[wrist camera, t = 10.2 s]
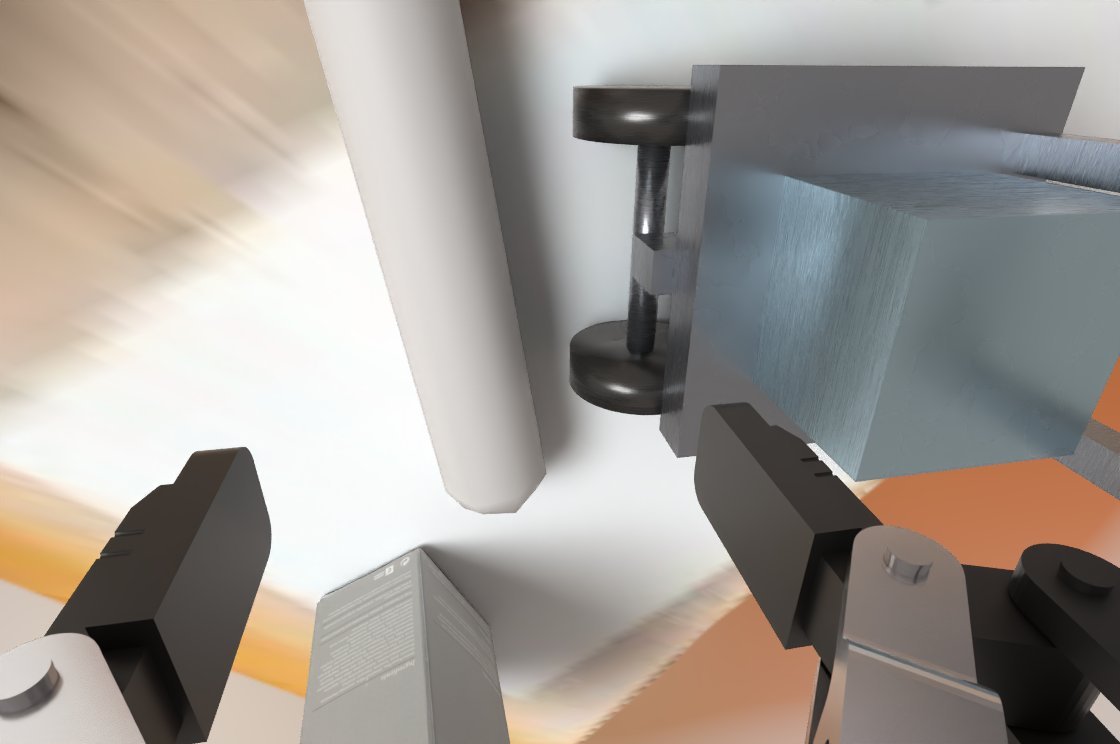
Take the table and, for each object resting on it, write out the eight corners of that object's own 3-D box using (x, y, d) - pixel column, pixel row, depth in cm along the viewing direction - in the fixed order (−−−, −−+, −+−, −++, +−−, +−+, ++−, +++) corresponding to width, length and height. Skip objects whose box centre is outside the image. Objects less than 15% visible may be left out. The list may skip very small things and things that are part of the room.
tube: (576, 505, 28) (462, -208, 16) (470, 557, 26) (252, -213, 14) (524, 451, 32) (404, -146, 20) (431, 493, 30) (236, -142, 18)
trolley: (558, 65, 23) (1167, 60, 4) (967, 67, 26) (2410, 71, 7) (557, 369, 29) (805, 955, 10) (892, 342, 32) (1575, 750, 13)
